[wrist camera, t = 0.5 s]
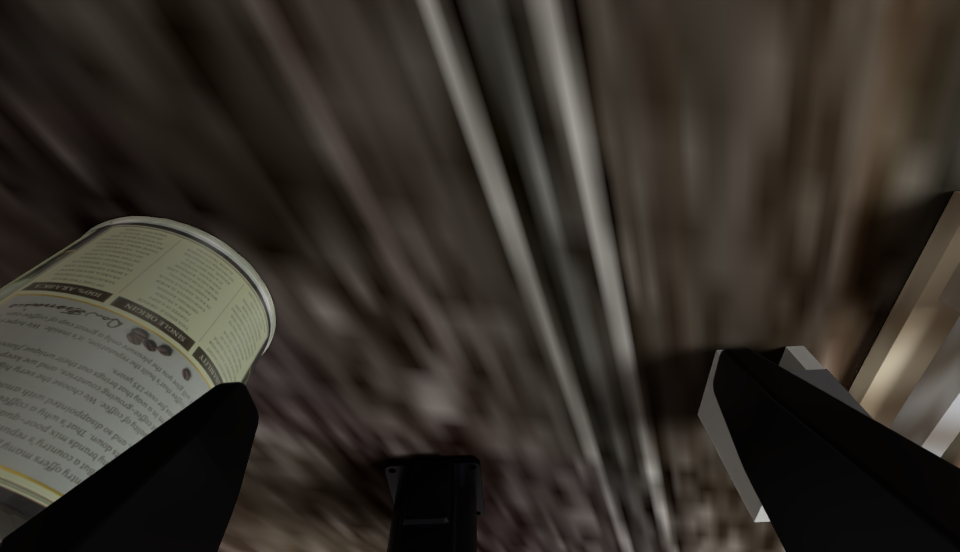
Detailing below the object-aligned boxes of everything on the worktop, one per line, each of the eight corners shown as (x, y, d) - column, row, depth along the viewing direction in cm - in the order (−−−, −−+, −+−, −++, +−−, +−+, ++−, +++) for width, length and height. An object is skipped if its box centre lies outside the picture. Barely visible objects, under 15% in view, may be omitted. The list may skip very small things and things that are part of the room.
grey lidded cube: (775, 411, 29) (852, 518, 23) (697, 414, 29) (754, 522, 23) (806, 337, 26) (905, 440, 20) (718, 342, 26) (790, 445, 20)
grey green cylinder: (270, 389, 28) (116, 690, 16) (84, 349, 26) (-251, 656, 14) (288, 247, 23) (79, 536, 11) (57, 185, 21) (-511, 450, 9)
